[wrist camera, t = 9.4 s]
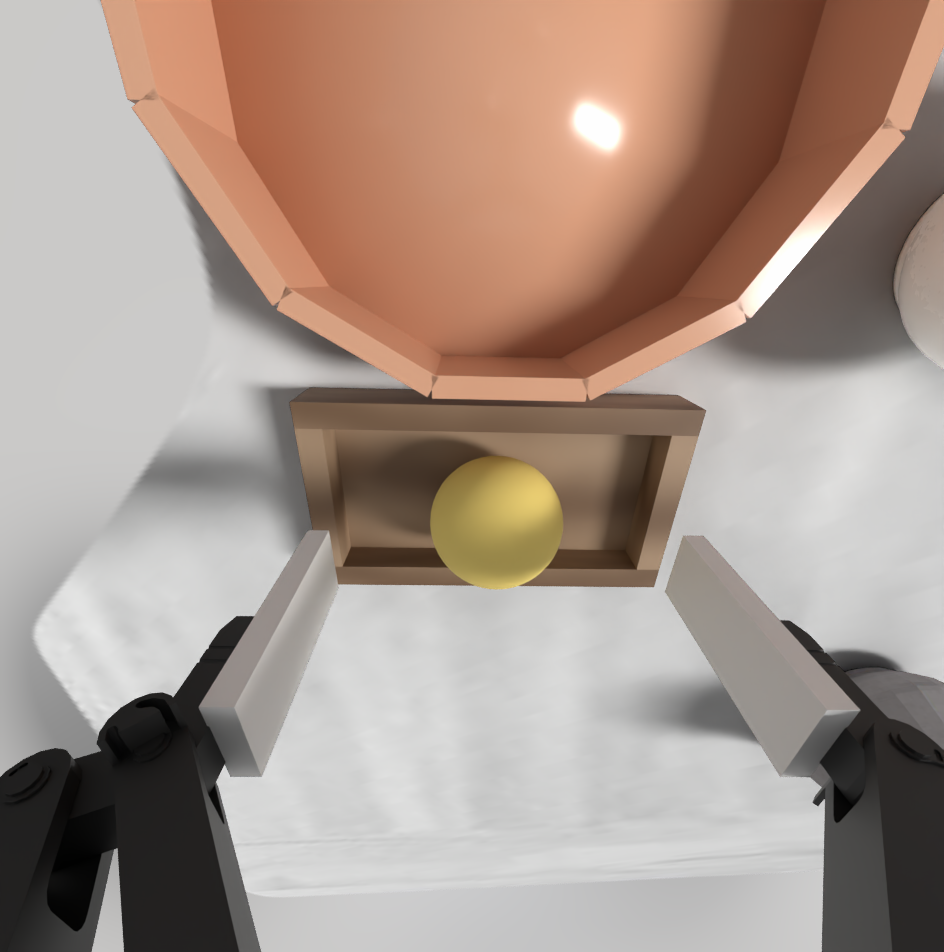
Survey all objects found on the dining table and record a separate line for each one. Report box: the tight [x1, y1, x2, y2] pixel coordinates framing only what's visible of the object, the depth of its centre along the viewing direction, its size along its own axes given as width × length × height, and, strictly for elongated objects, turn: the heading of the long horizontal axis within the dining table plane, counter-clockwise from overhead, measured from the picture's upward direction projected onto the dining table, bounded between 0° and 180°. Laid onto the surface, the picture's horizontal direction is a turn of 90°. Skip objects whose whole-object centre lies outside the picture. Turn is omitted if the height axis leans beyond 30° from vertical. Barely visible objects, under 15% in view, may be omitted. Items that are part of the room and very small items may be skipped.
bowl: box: [101, 0, 944, 402], centre depth 12 cm, size 21×21×6 cm
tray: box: [290, 388, 706, 587], centre depth 20 cm, size 10×18×2 cm, turn 89°
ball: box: [430, 456, 563, 589], centre depth 18 cm, size 6×6×6 cm
